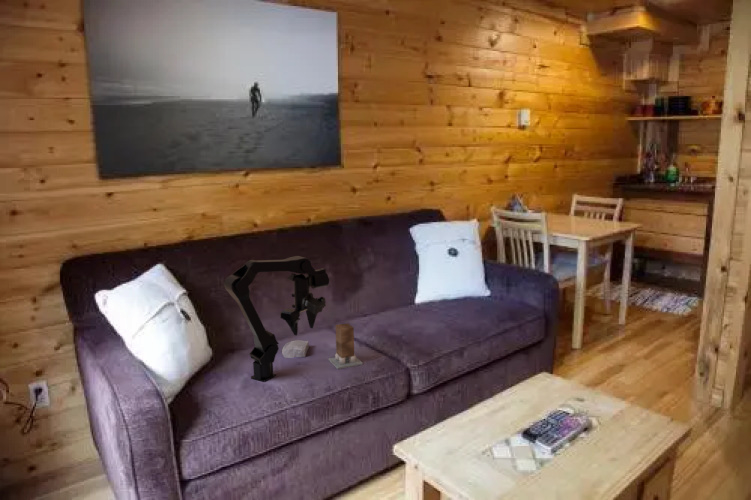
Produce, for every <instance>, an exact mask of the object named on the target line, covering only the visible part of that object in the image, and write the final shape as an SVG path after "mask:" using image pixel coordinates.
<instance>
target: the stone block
mask: <svg viewBox="0 0 751 500" xmlns="http://www.w3.org/2000/svg"><path fill="white" fill-rule="evenodd" d="M309 345H310V344H309V340H300V339H299V340H298V339H296V340H292V341H288V342H286V343H285V344H284V346H283V348H282V350H281V352H282V353H281V354H282V357H283V358H284V359H294V357H300V358H305V357H307V356H306V355H307V353H308V350H309Z"/></svg>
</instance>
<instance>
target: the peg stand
mask: <svg viewBox="0 0 751 500" xmlns="http://www.w3.org/2000/svg"><path fill="white" fill-rule="evenodd" d="M334 354H335V355H334V356H335V357H330V358H328V361H329V362H330V363H331V364H332V365H333V366H334V367H335V369H336V370H341V369H346V368H352V367H356V366H357V367H358V366H363V365H364V362H362V361H361V360H360V359H359V358H358V357H357V356H356V354H355V353H354V356H351V357H346V358H341V357H340V356H339V355H338V354H337V353H334Z"/></svg>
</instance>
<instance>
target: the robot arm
mask: <svg viewBox="0 0 751 500" xmlns="http://www.w3.org/2000/svg"><path fill="white" fill-rule="evenodd" d="M273 272H290V273H291V274H290V275H288V277H287V280H289V281H291V282H293V293H291V297H293V299H294V304H292V305H291V307H292V308H286V309H283V310H281V311H280V314H279V315H280V316H279V317H280V319H282V320H283V321H285V322H286V323H287V325H288V327H289V328H290V330H291V332H292V333H293V335H294V336H298V331H299V330H298V328H299V327H298V324H299V321H300V320H301V318H300V315H301V314H302V313H304V312H305V313H306V316H307V323H308V325H309V328H310V329H314V327H315V323H316V319H317V315H319V314H318V313H322V312H323V309H324V308H325V307H326V298H325V297H324V296H320V297H316V298H315V297H314V293H313V292H311V291H310V290H311V289H318V288H324V287H327V286H329V284H330V277H329V275H328V273H327V272H326V268H324V267H323V268H318V269H315V268H314V267H313V266H312V263H311V261H310V259H309V258H308V257H303V256H299V255H295V256H291V257H287V258H284V259H267V260H266V259H265V260H263V259H262V260H258V259H257V260H254V259H250V260H248V261H246V262H245V263H244V264H243V265H242V266H241V267H239V268H238V269H237V270H235V271H234V272H232V274H231V275H228V276H227V277H226V278H225V279H224V282H223V286H224V289H225V290H226V292H227V293H228V294H229V295H230V296H231V298H233V300H235V302H236V303H237V304H238V307H239V309H240V311H241V313H242V314H243V316H244V319H245V320H246V323H247V324H248V327H249V328H250V331H251V332H252V334H253V343H254V347H253V348H252V350H251V351H250V352H249V356H250V359H251V360H253V363H252V365H253V369H252V370H253V375H251V376H250V379H253V380H256V381H260V382H267V381H268V380H270V379H272V378H274V377H275V376H276V377H277V374H276V373H274V365H273V363H275V359H276V355H277V353H278V351H279V344H280V343H279V342H278V341H277V338H276V336H275V334H274V333H272V332H270V331H268V330H266V328H265V326H264V324H263V322H262V320H261V318H260V315H259V314H258V312H257V310H256V308H255V306H254V304H253V301H252V299H251V294H250V293H251V291H250V287H249V286H250V285H251V284H252V283H253V281H254V280H255V278H256V276H257V275H258V273H273ZM296 273H297V274H296ZM305 274H306V275H305ZM310 288H311V289H310Z"/></svg>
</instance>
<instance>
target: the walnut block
mask: <svg viewBox="0 0 751 500" xmlns="http://www.w3.org/2000/svg"><path fill="white" fill-rule="evenodd" d="M334 326H335V327H334V328H335V347H336V349H335V351H336V353H337V354H338V355H339V356H340V357H341V358H346V357H351V356H354V354H355V337H354V336H355V330H354V326H352V325H351V324H349V323H348V322H347V323H341V324H335V325H334Z"/></svg>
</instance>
